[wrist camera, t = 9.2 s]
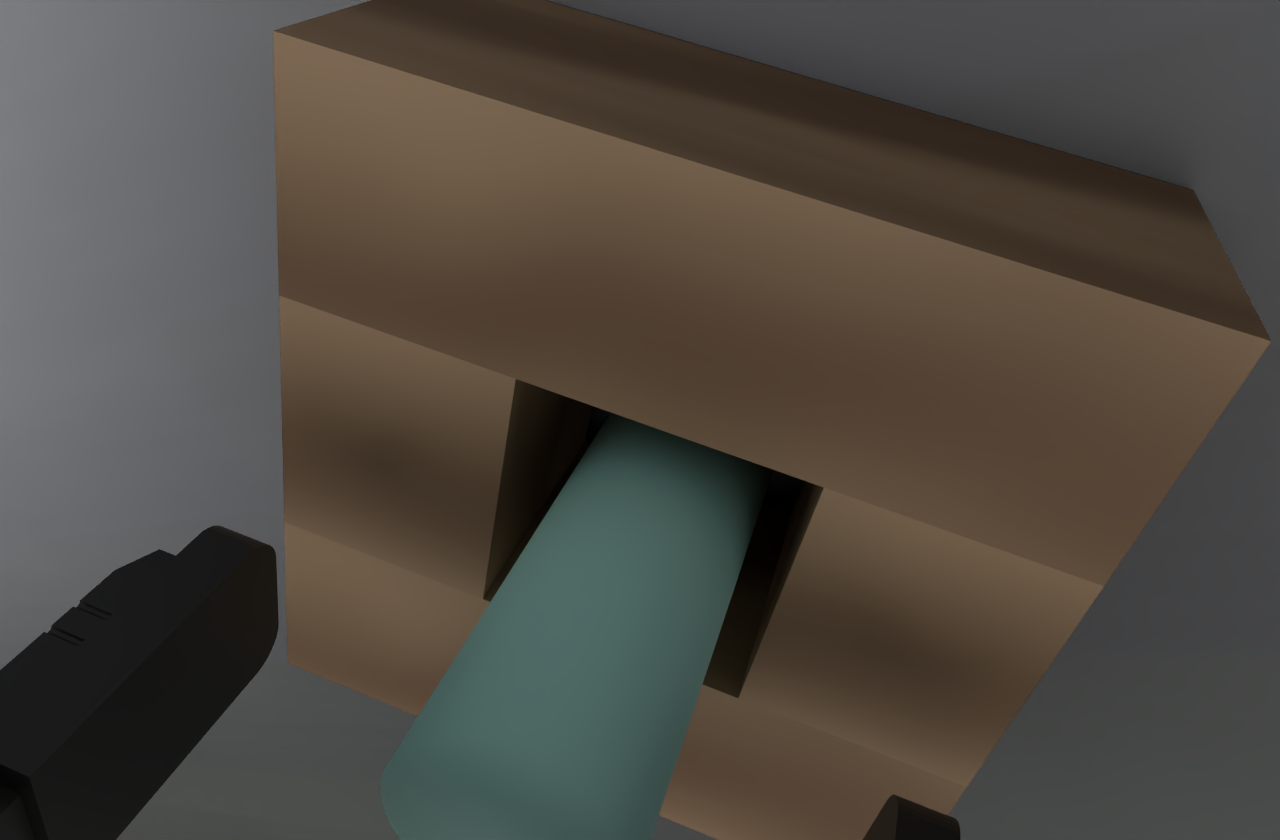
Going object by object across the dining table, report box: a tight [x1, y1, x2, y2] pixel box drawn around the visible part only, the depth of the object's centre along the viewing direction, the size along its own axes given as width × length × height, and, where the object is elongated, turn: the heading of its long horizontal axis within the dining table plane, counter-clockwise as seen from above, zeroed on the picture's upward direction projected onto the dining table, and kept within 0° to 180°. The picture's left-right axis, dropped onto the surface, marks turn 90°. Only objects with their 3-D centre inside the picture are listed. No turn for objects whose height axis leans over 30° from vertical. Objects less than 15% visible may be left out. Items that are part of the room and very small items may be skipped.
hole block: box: [273, 0, 1271, 840], centre depth 17 cm, size 12×12×5 cm
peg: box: [380, 413, 773, 840], centre depth 15 cm, size 3×3×10 cm
